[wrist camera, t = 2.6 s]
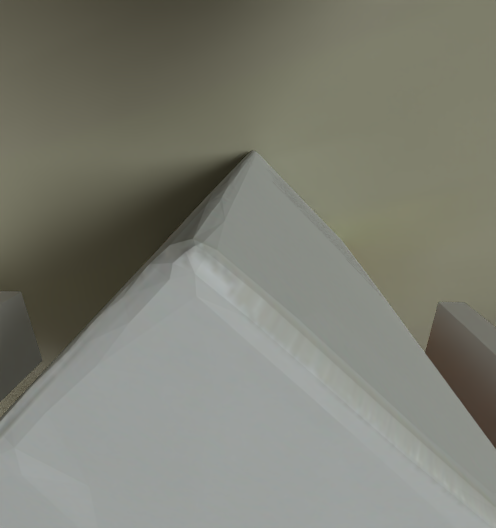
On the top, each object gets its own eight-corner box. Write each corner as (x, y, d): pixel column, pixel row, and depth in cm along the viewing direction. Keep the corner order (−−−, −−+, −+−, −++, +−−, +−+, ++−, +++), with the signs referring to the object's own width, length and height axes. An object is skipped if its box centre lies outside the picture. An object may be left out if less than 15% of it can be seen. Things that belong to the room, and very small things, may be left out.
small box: (235, 336, 18) (164, 768, 6) (147, 263, 16) (-206, 636, 4) (347, 241, 15) (667, 666, 3) (255, 144, 14) (150, 214, 2)
